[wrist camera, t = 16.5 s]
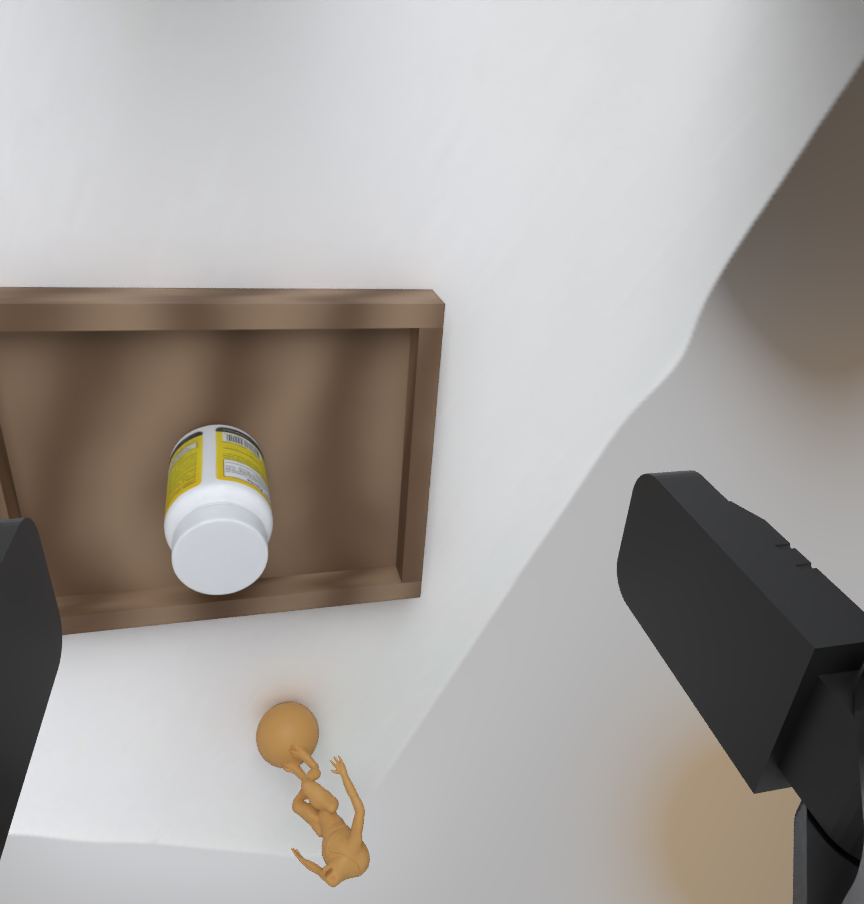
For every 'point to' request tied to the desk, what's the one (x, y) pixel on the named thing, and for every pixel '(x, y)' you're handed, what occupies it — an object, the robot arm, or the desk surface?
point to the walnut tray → (219, 403)
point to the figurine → (315, 791)
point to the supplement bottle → (218, 510)
